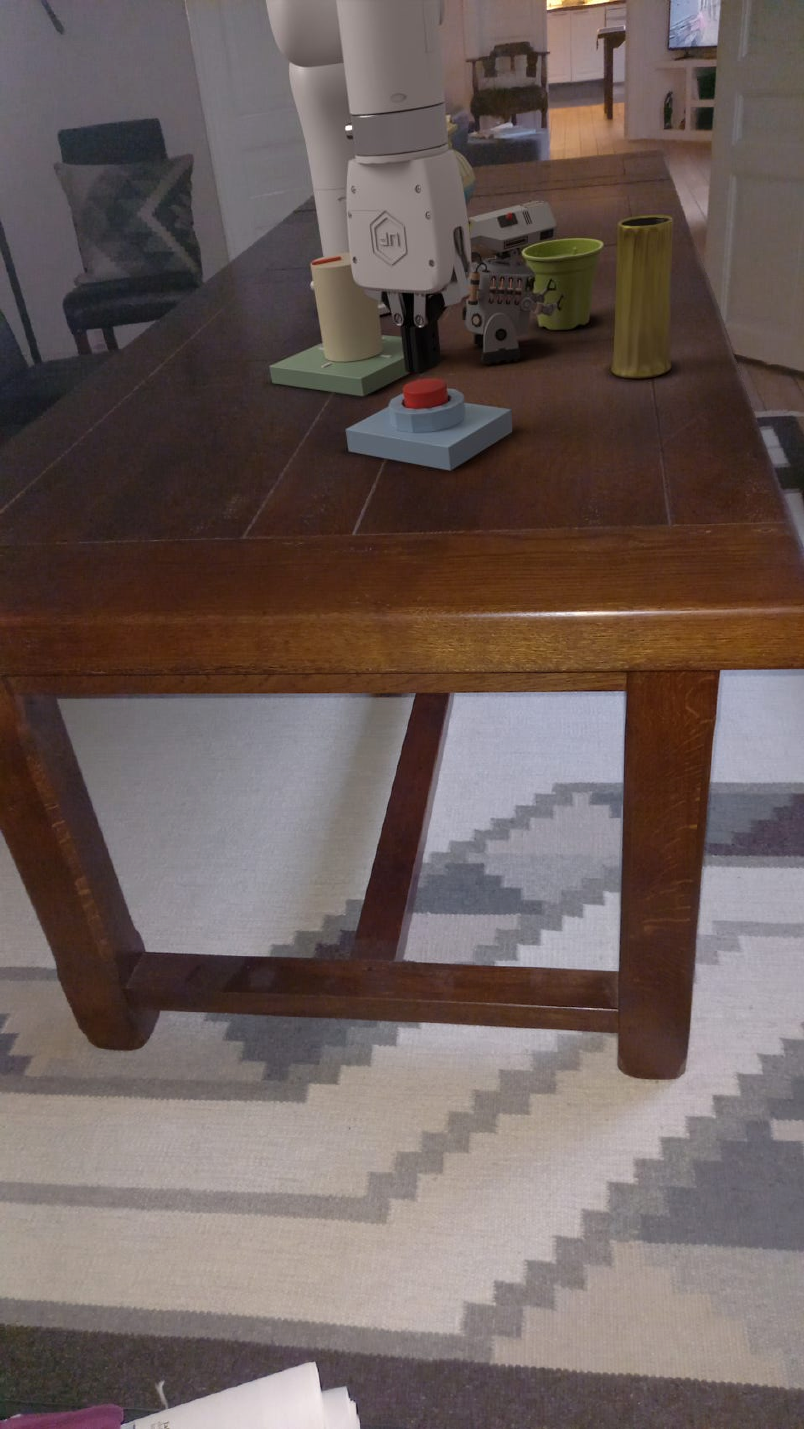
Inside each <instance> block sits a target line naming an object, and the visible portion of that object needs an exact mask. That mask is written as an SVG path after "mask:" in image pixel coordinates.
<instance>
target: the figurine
mask: <svg viewBox="0 0 804 1429" xmlns="http://www.w3.org/2000/svg"><path fill="white" fill-rule="evenodd" d="M468 224H469V233H470V244H471V248H476V247H478V246H481V247H485V248H488V249H490V251H491V252H492V255H493V256H494V257H488V258H484V259H483V260H482V256H481V255H480V253H479V252H477V251H472V252H471V256H472V255H477V256H478V257H479V261H474V262H473V260H472V259H471V272H470V275H469V277H468V278H467V283H468V287H469V291H470V297H469V299H467V300H465V304H462V312H461V320H462V321H463V323H464V325H465V327H466V329H467V331H469V332H472V333H473V340H472V341H473V344H474V345H477V346H478V347H480V348H481V347H482V348H483V349H482V350H481V362H482V363H483V364H484V363H486V364H487V365H488V366H490V365H492V364H493V363H494V364H495V365H498V364H499V363H500V362H501V361H505V362H506V363H510V362H511V361H512V360H513V362H518V361H519V359H520V358H522V354H521V349H520V346H519V342H518V337H519V336H523V335H527V334H528V332H529V324H530V317H531V311H532V313H533V314H536V315H537V314H538V315H540V314H541V313H542V314H544V315H548V316H551V315H552V314H553V311H554V309H556V308H558V310H559V311H561V308H562V305H561V307H559V304H560V301H561V299H562V298H563V299H564V296H563V294H562V295H561V297H560V299H559V301H558V302H557V303H555V304H552V303H549V302H547V303H546V304H545V305H544V304H543V303H544V302H545V297H544V296H545V295H546V294H547V293H548V291H554V290H556V284H555V287H554V288H549V287H550V284H551V281H552V282H554V281H553V280H552V279H551V278H550V280H549V283H548V285H547V288H545V289H544V290H543V291H542V292H541V293H539V292H537V293H534V292H533V290H534V282H535V281H536V280H535V273H534V272H533V271H532V269H531V268H530V267H528V266H527V263H525V262H523V261H521V260H517V259H516V258H517V257H518V256H520V255H521V248H523V247H526V246H527V247H528V246H531V245H534V244H538V243H542V242H546V241H550V240H552V239H556V238H557V232H558V224H557V222H556V219H555V217H554V214H553V212H552V209H551V206H550V204H549V202H546V201H544V200H541V199H535V200H529V201H527V202H524V203H521V204H517V205H512V206H509V207H505V208H502V209H497V210H493V211H490V212H486V213H481V214H478V215H474V216H470V217H468ZM554 283H555V282H554Z"/></svg>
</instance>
